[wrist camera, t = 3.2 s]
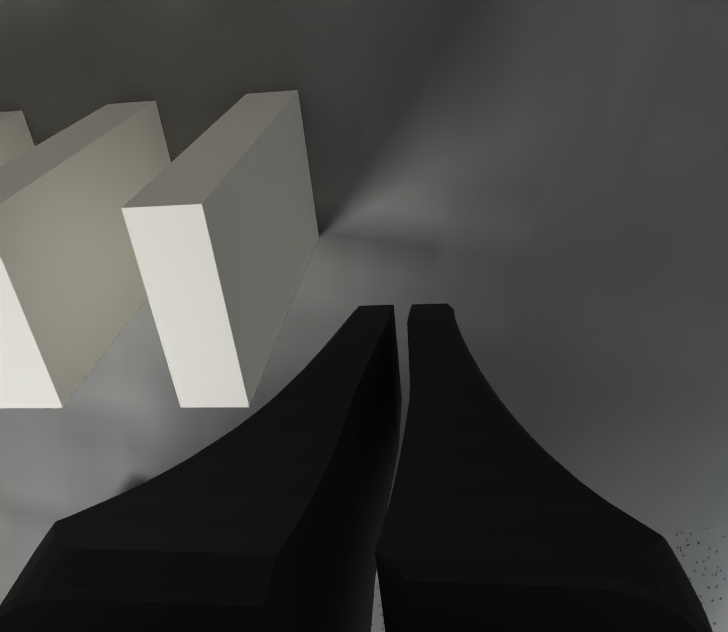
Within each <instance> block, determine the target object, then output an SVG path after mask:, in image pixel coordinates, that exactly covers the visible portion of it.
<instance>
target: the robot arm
mask: <svg viewBox="0 0 728 632" xmlns="http://www.w3.org/2000/svg"><path fill="white" fill-rule="evenodd" d="M407 326H408V348H409V371H410V400H409V407H408V413H407V420H406V426H405V432H404V438H403V443H402V448H401V454H400V459H399V464H398V469H397V473H396V477H395V482H394V486H393V490H392V495H391V499H390V503H389V506H388V502H389V496H390V491H391V486H392V481H393V475H394V470H395V464H396V459H397V453H398V448H399V436H400V420H401V402H402V396H401V384H400V373H399V361H398V350H397V338H396V326H395V315H394V305H373V306H359V307H358V308H357V309H356V310H355V311H354V312H353V313H352V314H351V316H350V317H349V318H348V319H347V320H346V322H345V323H344V324H343V325H342V326H341V328H340V329H339V330H338V331H337V332H336V334H335V335H334V336H333V337H332V338H331V339H330V341H329V342H328V343H327V344H326V345H325V346H324V347H323V349H322V350H321V351H320V352H319V353H318V354H317V355H316V356H315V357H314V358H313V360H312V361H311V362H310V363H309V364H308V365H307V366H306V367H305V368H304V369H303V370H302V371H301V372H300V373H299V374H298V375H297V376H296V377H295V378H294V379H293V380H292V381H291V382H290V383H289V384H288V385H287V386H286V387H285V388H284V389H283V390H282V391H281V392H280V393H279V394H278V395H276V396H275V397H274V398H273V399H272V400H271V401H270V402H268V403H267V404H266V405H265V406H264V407H262V408H261V409H260V410H259V411H257V412H256V413H255V414H253V415H252V416H251V417H250V418H248V419H247V420H246V421H244V422H243V423H242V424H240V425H239V426H238V427H236V428H235V429H234V430H232V431H231V432H229V433H228V434H226V435H224V436H223V437H221V438H220V439H218V440H217V441H215V442H214V443H212V444H211V445H209V446H208V447H206V448H204V449H203V450H201V451H200V452H198V453H197V454H195V455H194V456H192V457H190V458H189V459H187V460H185V461H184V462H182V463H180V464H178V465H177V466H175V467H173V468H171V469H169V470H168V471H166V472H164V473H162V474H160V475H158V476H156V477H154V478H152V479H151V480H149V481H147V482H145V483H143V484H141V485H139V486H137V487H135V488H133V489H131V490H128V491H126V492H124V493H122V494H120V495H118V496H115V497H113V498H111V499H108V500H106V501H104V502H102V503H99V504H97V505H95V506H92V507H90V508H88V509H85V510H83V511H81V512H78V513H76V514H74V515H71V516H69V517H66V518H64V519H61V520H59V521H56V522H55V523H54V525H53V526H52V527H51V529H50V530H49V531H48V533H47V534H46V536H45V537H44V539H43V540H42V542H41V543H40V544H39V546H38V547H37V549H36V550H35V552H34V553H33V555H32V556H31V558H30V560H29V561H28V563H27V564H26V566H25V567H24V569H23V571H22V572H21V574H20V575H19V577H18V578H17V580H16V581H15V583H14V585H13V586H12V588H11V589H10V591H9V592H8V594H7V596H6V597H5V599H4V600H3V602H2V603H1V605H0V632H371V622H372V610H373V599H374V587H375V576H376V569H377V572H378V579H379V587H380V595H381V602H382V610H383V617H384V625H385V632H713V631H712V628H711V626H710V623H709V621H708V618H707V615H706V613H705V611H704V609H703V607H702V605H701V603H700V600H699V598H698V596H697V594H696V593H695V591H694V589H693V587H692V585H691V583H690V581H689V579H688V577H687V575H686V573H685V571H684V569H683V568H682V566H681V564H680V563H679V561H678V559H677V557H676V556H675V554H674V552H673V550H672V549H671V547H670V546H669V544H668V542H667V541H666V539H665V538H664V537H663V536H661V535H660V534H658V533H657V532H655V531H653V530H652V529H650V528H649V527H647V526H646V525H644V524H642V523H641V522H639V521H638V520H636V519H634V518H633V517H631V516H630V515H628V514H626V513H625V512H623V511H622V510H620V509H618V508H617V507H615V506H614V505H612V504H610V503H609V502H607V501H606V500H605V499H603V498H602V497H600V496H599V495H598V494H596V493H595V492H594V491H592V490H591V489H590V488H588V487H587V486H586V485H584V484H583V483H582V482H580V481H579V480H578V479H577V478H576V477H574V476H573V475H572V474H571V473H570V472H569V471H568V470H566V469H565V468H564V467H563V466H562V465H561V464H560V463H558V462H557V461H556V460H555V459H554V458H553V457H552V456H551V455H549V454H548V453H547V452H546V451H545V450H544V449H543V448H542V447H541V446H540V445H539V444H538V443H537V442H536V441H535V440H534V439H533V438H532V437H531V436H530V435H529V434H528V433H527V431H526V430H525V429H524V428H523V427H522V426H521V425H520V424H519V422H518V421H517V420H516V419H515V418H514V417H513V415H512V414H511V413H510V412H509V411H508V409H507V408H506V407H505V405H504V404H503V403H502V402H501V400H500V399H499V398H498V396H497V395H496V393H495V392H494V391H493V389H492V388H491V386H490V385H489V383H488V382H487V380H486V379H485V377H484V376H483V374H482V373H481V371H480V369H479V368H478V366H477V364H476V362H475V361H474V359H473V357H472V355H471V354H470V352H469V350H468V348H467V346H466V344H465V342H464V340H463V338H462V336H461V333H460V331H459V328H458V326H457V323H456V320H455V316H454V309H453V308H452V307H450V306H449V305H448V304H412V306H411V309H410V313H409V317H408V321H407ZM387 507H388V510H387ZM386 512H387V513H386Z"/></svg>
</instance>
